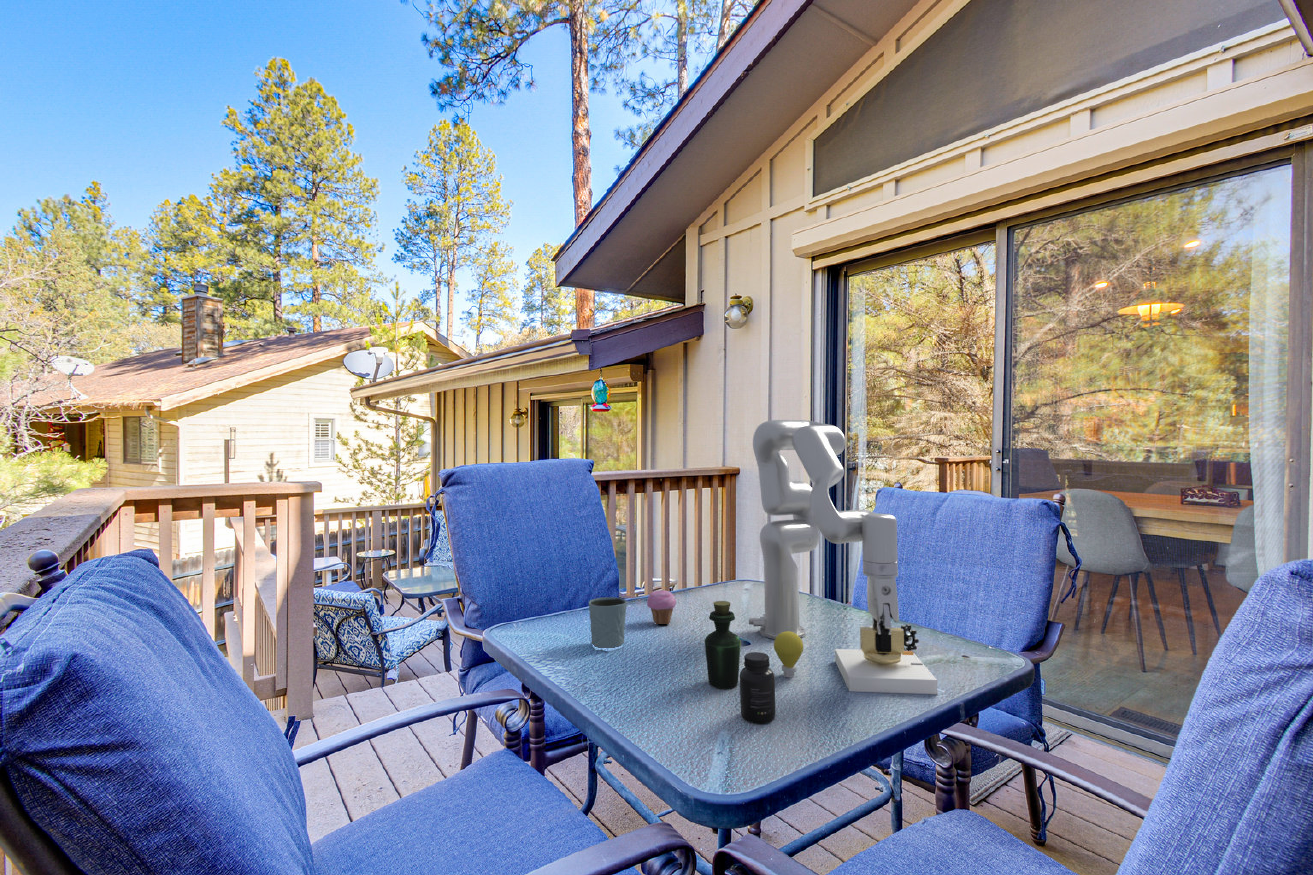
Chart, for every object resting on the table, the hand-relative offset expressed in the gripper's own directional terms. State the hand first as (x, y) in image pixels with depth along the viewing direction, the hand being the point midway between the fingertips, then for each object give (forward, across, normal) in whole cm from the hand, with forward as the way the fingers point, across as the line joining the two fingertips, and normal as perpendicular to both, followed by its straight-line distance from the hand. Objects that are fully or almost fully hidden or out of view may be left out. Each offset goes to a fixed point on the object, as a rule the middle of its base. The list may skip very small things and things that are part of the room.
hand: (882, 648), depth 137 cm
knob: (+3, 0, -1) cm, 3 cm away
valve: (+7, +17, -6) cm, 19 cm away
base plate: (+6, 0, 0) cm, 6 cm away
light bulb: (+7, -1, +21) cm, 22 cm away
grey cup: (+7, +16, +67) cm, 69 cm away
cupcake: (+7, +37, +55) cm, 67 cm away
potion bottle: (+7, -7, +36) cm, 37 cm away
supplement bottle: (+7, -23, +29) cm, 38 cm away
